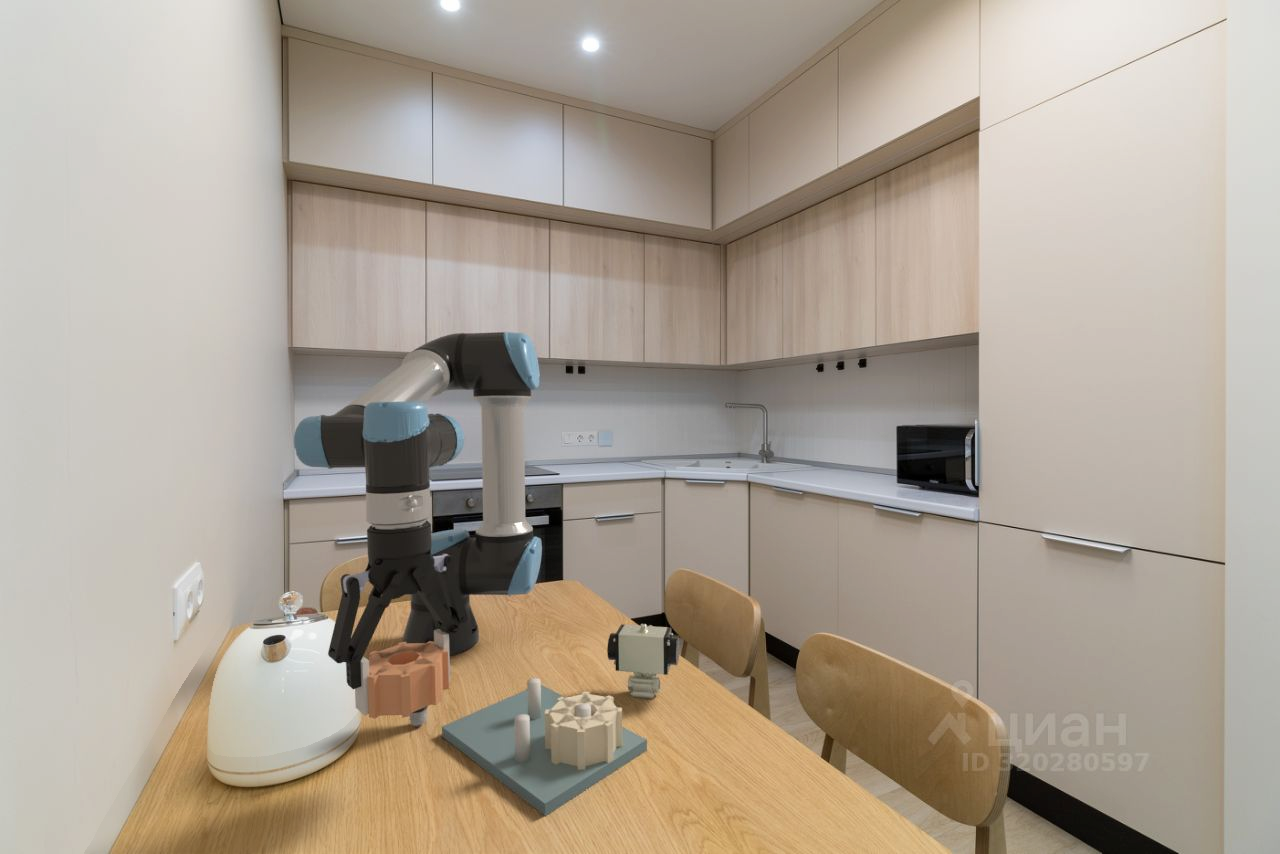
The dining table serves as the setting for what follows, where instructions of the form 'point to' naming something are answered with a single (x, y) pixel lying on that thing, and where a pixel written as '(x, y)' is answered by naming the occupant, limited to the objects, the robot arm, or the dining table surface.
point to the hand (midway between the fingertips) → (404, 694)
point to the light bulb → (418, 717)
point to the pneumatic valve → (643, 656)
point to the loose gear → (406, 678)
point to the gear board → (547, 743)
